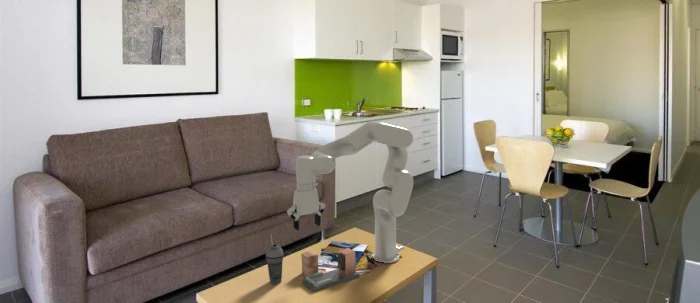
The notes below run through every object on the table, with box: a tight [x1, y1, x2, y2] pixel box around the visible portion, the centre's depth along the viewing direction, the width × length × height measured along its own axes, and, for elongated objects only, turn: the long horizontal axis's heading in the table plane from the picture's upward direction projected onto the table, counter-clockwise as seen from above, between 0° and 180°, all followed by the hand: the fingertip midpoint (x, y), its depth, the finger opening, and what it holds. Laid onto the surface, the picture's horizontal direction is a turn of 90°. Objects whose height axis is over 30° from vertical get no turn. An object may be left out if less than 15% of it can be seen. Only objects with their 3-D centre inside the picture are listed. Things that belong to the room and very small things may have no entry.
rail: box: [301, 247, 360, 292], centre depth 186 cm, size 22×9×10 cm, turn 125°
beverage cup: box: [265, 234, 285, 285], centre depth 184 cm, size 7×7×20 cm
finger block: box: [301, 250, 319, 277], centre depth 192 cm, size 5×6×9 cm
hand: (307, 227), depth 188 cm, fingers open, 9 cm apart
